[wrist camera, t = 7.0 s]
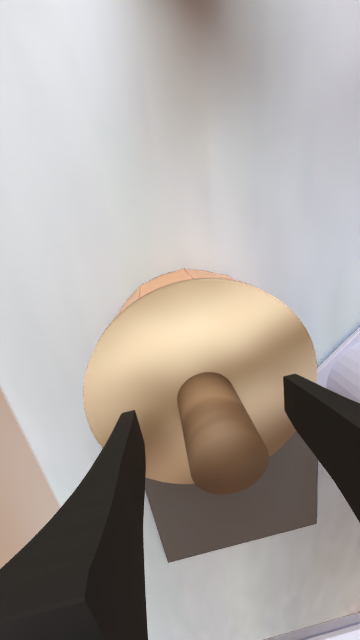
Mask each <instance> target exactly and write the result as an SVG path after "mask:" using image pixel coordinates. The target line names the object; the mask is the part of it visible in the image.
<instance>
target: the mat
mask: <svg viewBox="0 0 360 640" xmlns="http://www.w3.org/2000/svg"><path fill="white" fill-rule="evenodd" d="M317 478H318V459H317V457H316V456H315V455H314V454H313V452H312V451H311V450H310V448H309V447H308V446H307V444H306V443H305V442H304V440H303V439H302V438H301V436H300V435H299V434H298V432H297V431H295V433H294V434H293V435H292V436H291V437H290V439H289V440H288V441H287V442H286V443H285V444H284V445H283V446H282V447H281V448H280V449H278V450H277V451H276V452H275V453H274V454H273V455H271V456H270V457H269V462H268V466H267V468H266V470H265V472H264V474H263V475H262V476H261V478H260V479H259V480H258V481H257V482H255V483H254V484H253V485H251V486H250V487H248V488H246V489H244V490H242V491H239V492H237V493H233V494H227V495H217V494H211V493H208V492H205V491H203V490H201V489H200V488H199V487H197V486H196V484H173V483H166V482H160V481H156V480H153V479H149V478H146V477H145V490H146V494H147V497H148V500H149V503H150V506H151V510H152V513H153V516H154V519H155V522H156V525H157V529H158V532H159V535H160V538H161V541H162V545H163V548H164V551H165V554H166V557H167V560H168V563H169V562H173V561H176V560H180V559H184V558H188V557H192V556H195V555H199V554H203V553H207V552H211V551H214V550H218V549H222V548H226V547H230V546H233V545H237V544H241V543H245V542H249V541H252V540H256V539H260V538H264V537H268V536H271V535H275V534H279V533H283V532H287V531H290V530H294V529H298V528H302V527H306V526H309V525H313V524H317Z"/></svg>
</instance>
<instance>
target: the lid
mask: <svg viewBox="0 0 360 640" xmlns="http://www.w3.org/2000/svg"><path fill="white" fill-rule="evenodd" d="M291 374H297V375H300V376H302V377H304V378H306V379H308V380H310V381H312V382H314V383H316V381H317V361H316V354H315V350H314V347H313V343H312V340H311V338H310V336H309V334H308V332H307V330H306V328H305V326H304V325H303V323H302V322H301V321H300V319H299V318H298V316H297V315H296V314H295V313H294V312H293V311H292V310H291V309H290V308H289V307H288V306H286V305H285V304H284V303H282V302H281V301H280V300H278V299H277V298H276V297H274V296H272V295H270V294H268V293H266V292H264V291H263V290H261V289H259V288H257V287H255V286H252V285H249V284H246V283H243V282H240V281H235V280H230V279H225V278H196V279H189V280H184V281H179V282H175V283H172V284H169V285H166V286H163V287H160V288H158V289H156V290H154V291H152V292H150V293H148V294H146V295H144V296H142V297H141V298H139V299H138V300H136V301H135V302H133V303H132V304H130V305H129V306H128V307H127V308H126V309H124V310H123V311H122V312H121V313H120V314H119V315H118V316H117V317H116V318H115V319H114V320H113V321H112V323H111V324H110V325H109V326H108V327H107V328H106V330H105V332H104V333H103V335H102V336H101V338H100V339H99V341H98V343H97V345H96V347H95V350H94V352H93V354H92V356H91V359H90V361H89V364H88V368H87V371H86V375H85V381H84V390H83V396H84V408H85V413H86V417H87V420H88V423H89V426H90V428H91V431H92V432H93V434H94V436H95V438H96V439H97V441H98V443H99V444H100V445H101V446H102V448H103V447H104V446H105V444H106V442H107V440H108V438H109V437H110V435H111V433H112V431H113V429H114V427H115V425H116V423H117V421H118V419H119V417H120V415H121V414H122V413H123V412H128V411H132V410H135V412H136V415H137V418H138V422H139V425H140V429H141V432H142V436H143V439H144V443H145V456H146V476H145V477H146V478H149V479H153V480H156V481H160V482H166V483H173V484H196V486H197V487H199V488H200V489H201V490H203V491H205V492H208V493H211V494H217V495H227V494H233V493H237V492H239V491H242V490H244V489H246V488H248V487H250V486H251V485H253V484H254V483H255V482H257V481H258V480H259V479H260V478H261V476H262V475H263V474H264V472H265V470H266V468H267V466H268V462H269V457H270V456H271V455H273V454H274V453H275V452H276V451H277V450H278V449H280V448H281V447H282V446H283V445H284V444H285V443H286V442H287V441H288V440H289V439H290V437H291V436H292V435H293V434H294V433H295V431H296V430H295V428H294V426H293V425H292V423H291V421H290V420H289V418H288V416H287V414H286V412H285V411H284V386H283V376H287V375H291Z"/></svg>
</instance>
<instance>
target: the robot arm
mask: <svg viewBox="0 0 360 640" xmlns="http://www.w3.org/2000/svg"><path fill="white" fill-rule="evenodd" d="M283 386H284V411H285V412H286V414H287V416H288V418H289V420H290V421H291V423H292V425H293V426H294V428H295V430H296V431H297V432H298V434H299V435H300V436H301V438H302V439H303V440H304V442H305V443H306V444H307V446H308V447H309V448H310V450H311V451H312V452H313V454H314V455H315V456H316V457H317V459H318V460H319V461H320V463H321V464H322V465H323V467H324V468H325V469H326V471H327V472H328V473H329V475H330V476H331V477H332V479H333V480H334V482H335V483H336V485H337V486H338V488H339V489H340V491H341V493H342V494H343V496H344V497H345V499H346V501H347V502H348V504H349V505H350V507H351V509H352V510H353V512H354V514H355V515H356V517H357V519H358V520H359V522H360V327H359V328H358V329H357V330H356V331H355V332H354V333H353V334H352V335H350V336H349V337H348V338H347V339H346V340H345V341H344V342H343V343H342V344H341V345H340V346H339V347H338V348H337V349H336V350H335V351H334V352H333V353H332V354H331V355H330V356H329V357H328V358H327V359H326V360H325V361H324V362H323V363H322V364H321V365H320V366H319V367H318V368H317V381H316V383H314V382H312V381H310V380H308V379H306V378H304V377H302V376H300V375H297V374H291V375H287V376H283ZM145 476H146V456H145V443H144V439H143V436H142V432H141V429H140V425H139V422H138V418H137V415H136V412H135V410H132V411H128V412H123V413H122V414H121V415H120V417H119V419H118V421H117V423H116V425H115V427H114V429H113V431H112V433H111V435H110V437H109V438H108V440H107V442H106V444H105V446H104V447H103V449H102V451H101V453H100V454H99V456H98V457H97V459H96V461H95V462H94V464H93V465H92V467H91V469H90V470H89V472H88V473H87V474H86V476H85V477H84V479H83V480H82V482H81V483H80V484H79V486H78V487H77V488H76V490H75V491H74V492H73V494H72V495H71V496H70V497H69V499H68V500H67V501H66V502H65V503H64V505H63V506H62V507H61V508H60V509H59V510H58V512H57V513H56V514H55V515H54V516H53V518H52V519H51V520H50V521H49V522H48V523H47V524H46V525H45V526H44V527H43V528H42V529H41V531H39V532H38V534H36V535H35V537H34V538H33V539H32V540H31V541H30V542H29V543H28V544H27V545H26V546H25V547H24V548H22V549H21V551H19V552H18V553H17V554H16V555H15V556H14V557H13V558H12V559H11V560H10V561H9V562H8V563H6V564H5V565H4V566H3V567H2V568H1V569H0V640H148V634H147V616H146V597H145V575H144V548H143V513H144V495H145ZM264 640H360V612H359V613H355V614H352V615H348V616H345V617H341V618H338V619H334V620H331V621H327V622H324V623H320V624H317V625H313V626H310V627H306V628H303V629H299V630H296V631H292V632H289V633H285V634H282V635H278V636H275V637H271V638H268V639H264Z"/></svg>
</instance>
